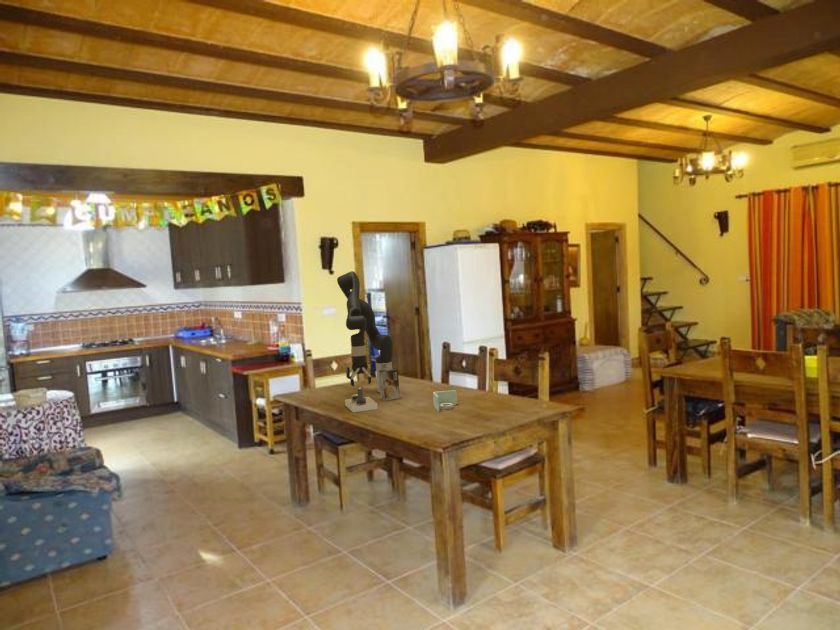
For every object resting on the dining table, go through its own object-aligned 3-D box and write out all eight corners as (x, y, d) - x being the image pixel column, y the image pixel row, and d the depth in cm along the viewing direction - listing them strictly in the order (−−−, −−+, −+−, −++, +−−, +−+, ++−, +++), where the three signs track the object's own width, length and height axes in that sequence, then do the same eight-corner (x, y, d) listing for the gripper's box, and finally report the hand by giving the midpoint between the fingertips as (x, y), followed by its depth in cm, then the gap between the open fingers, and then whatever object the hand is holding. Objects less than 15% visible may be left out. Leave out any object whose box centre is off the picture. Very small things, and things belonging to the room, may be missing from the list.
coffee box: (396, 396, 334) (394, 368, 333) (400, 398, 328) (398, 369, 327) (380, 398, 331) (378, 370, 329) (384, 401, 325) (382, 371, 323)
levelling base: (368, 402, 324) (368, 392, 324) (377, 409, 307) (376, 398, 307) (345, 405, 320) (344, 395, 320) (352, 412, 303) (352, 401, 303)
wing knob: (356, 400, 316) (355, 385, 316) (366, 399, 317) (365, 384, 316) (355, 403, 308) (354, 388, 308) (365, 403, 309) (364, 387, 308)
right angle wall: (437, 412, 295) (436, 397, 294) (433, 406, 307) (432, 392, 306) (461, 409, 297) (460, 394, 296) (456, 404, 309) (456, 390, 308)
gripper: (370, 351, 316) (372, 382, 318) (343, 355, 311) (346, 385, 313) (373, 353, 309) (376, 384, 311) (346, 356, 304) (349, 388, 306)
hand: (361, 385), depth 312 cm, fingers open, 8 cm apart
